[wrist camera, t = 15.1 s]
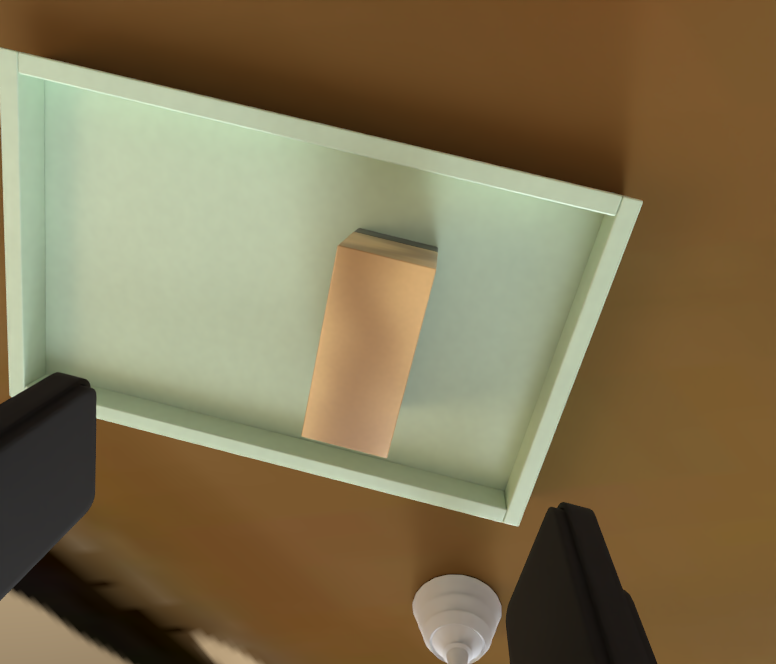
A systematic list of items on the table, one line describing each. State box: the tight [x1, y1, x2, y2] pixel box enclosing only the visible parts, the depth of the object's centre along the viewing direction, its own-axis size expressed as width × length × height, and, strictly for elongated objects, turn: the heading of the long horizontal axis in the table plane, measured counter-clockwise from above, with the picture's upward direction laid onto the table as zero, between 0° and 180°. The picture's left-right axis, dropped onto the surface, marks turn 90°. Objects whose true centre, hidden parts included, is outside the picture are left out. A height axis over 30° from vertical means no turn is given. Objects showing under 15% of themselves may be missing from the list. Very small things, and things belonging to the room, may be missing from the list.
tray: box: [0, 47, 643, 526], centre depth 24 cm, size 26×16×2 cm, turn 77°
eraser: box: [301, 228, 438, 458], centre depth 22 cm, size 4×8×4 cm, turn 167°
